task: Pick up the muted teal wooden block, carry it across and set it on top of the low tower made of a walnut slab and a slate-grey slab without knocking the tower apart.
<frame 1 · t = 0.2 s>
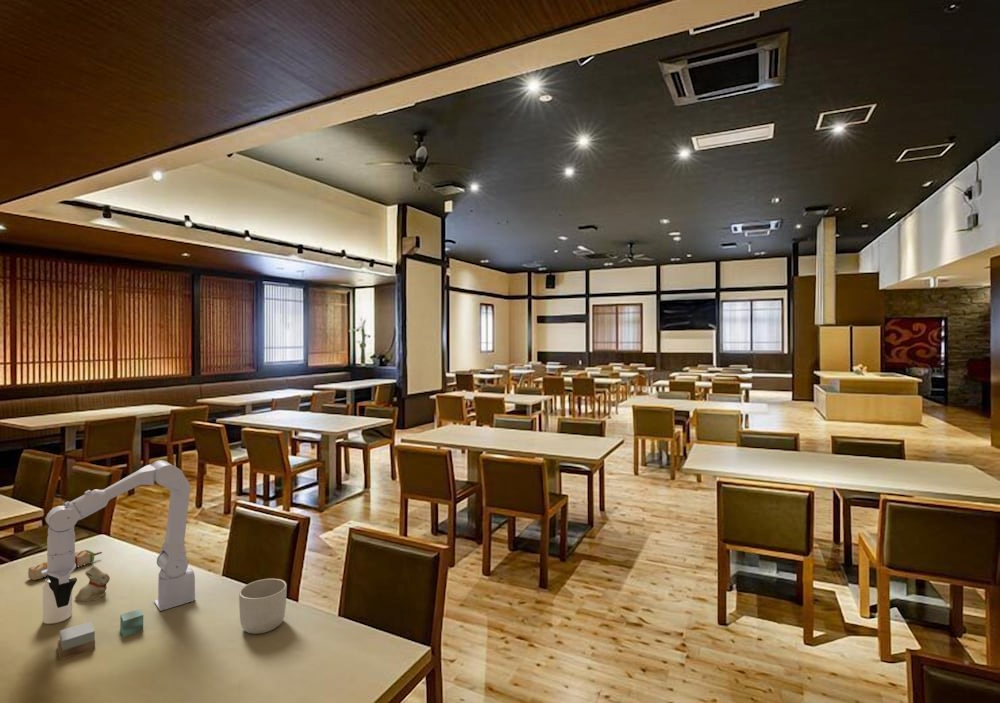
hand: (61, 600, 138), 10 cm above the table, tool pointing down, fingers open, 7 cm apart
can: (57, 619, 147), on the table
tower top: (77, 640, 134), point 2 cm above the table, touching tower base
teal block: (131, 630, 142), on the table
skewer: (68, 570, 180), on the table
planter: (262, 626, 145), on the table
tower base: (76, 649, 134), on the table, touching tower top
chocolate bunny: (92, 597, 160), on the table
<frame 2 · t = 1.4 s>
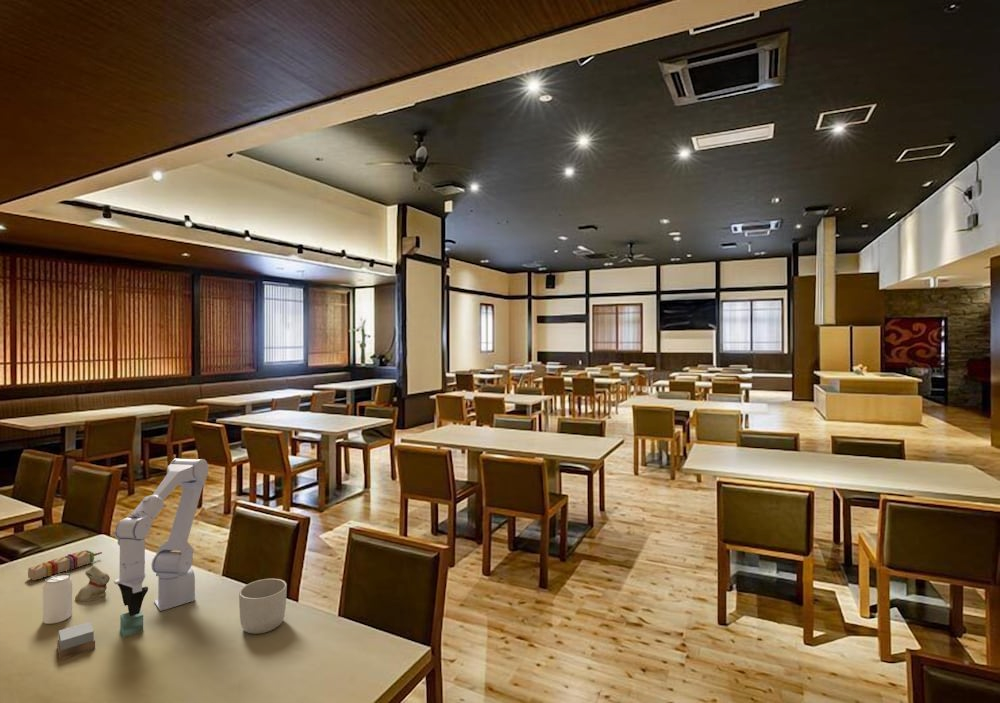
hand: (131, 609, 142), 6 cm above the table, tool pointing down, fingers open, 7 cm apart
nothing on the table moved.
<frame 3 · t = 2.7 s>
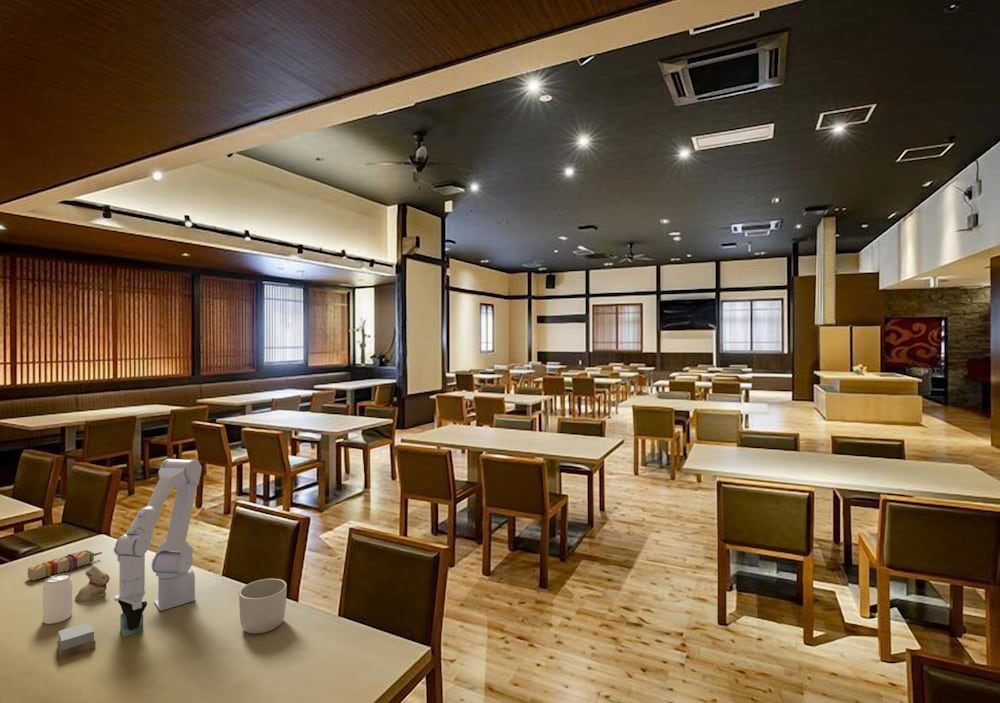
hand: (131, 625, 142), 1 cm above the table, tool pointing down, fingers closed on teal block, 4 cm apart
teal block: (131, 630, 142), on the table, touching gripper
everything else where it was.
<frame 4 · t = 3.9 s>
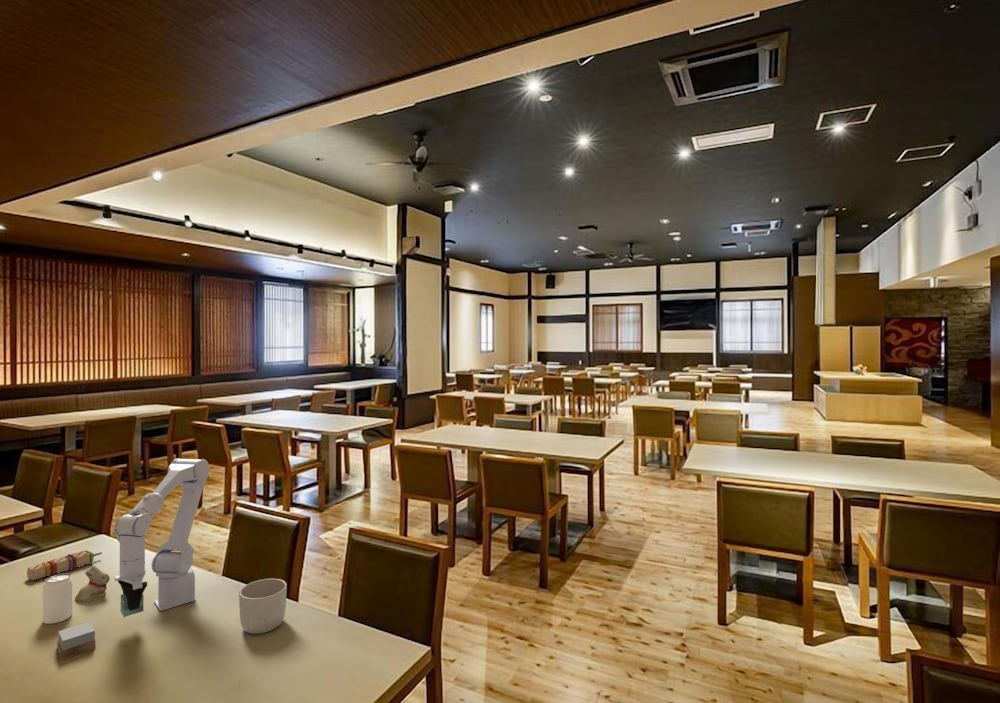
hand: (132, 605, 142), 7 cm above the table, tool pointing down, fingers closed on teal block, 4 cm apart
teal block: (132, 610, 142), point 5 cm above the table, touching gripper
everything else where it was.
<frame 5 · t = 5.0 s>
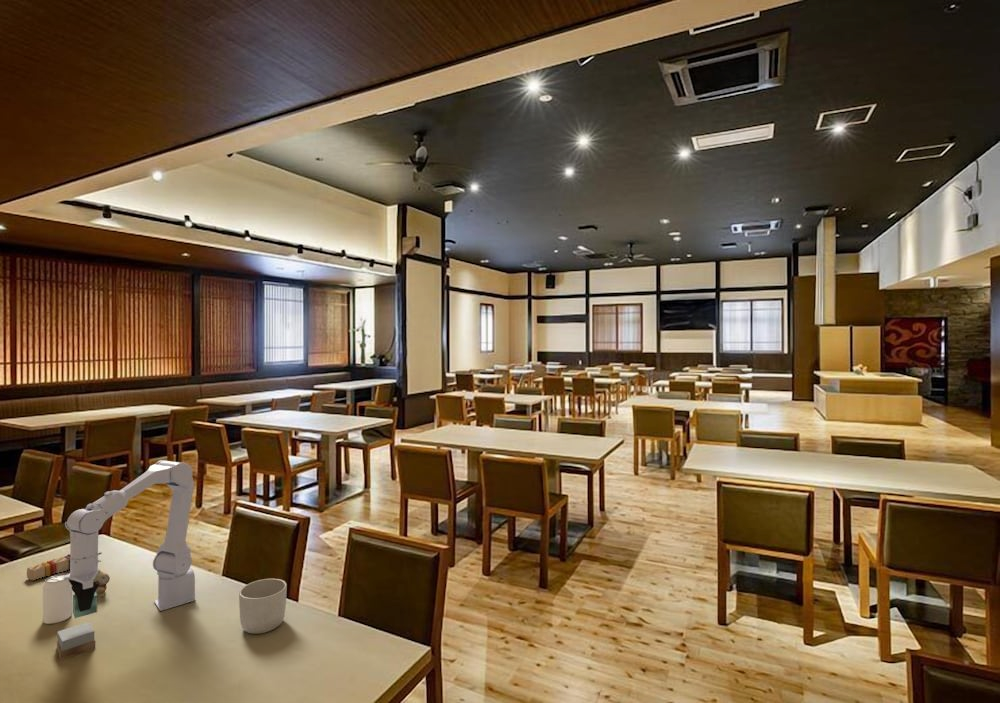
hand: (83, 606, 134), 11 cm above the table, tool pointing down, fingers closed on teal block, 4 cm apart
tower top: (75, 640, 133), point 2 cm above the table
teal block: (84, 612, 135), point 9 cm above the table, touching gripper
tower base: (76, 649, 133), on the table
everything else where it was.
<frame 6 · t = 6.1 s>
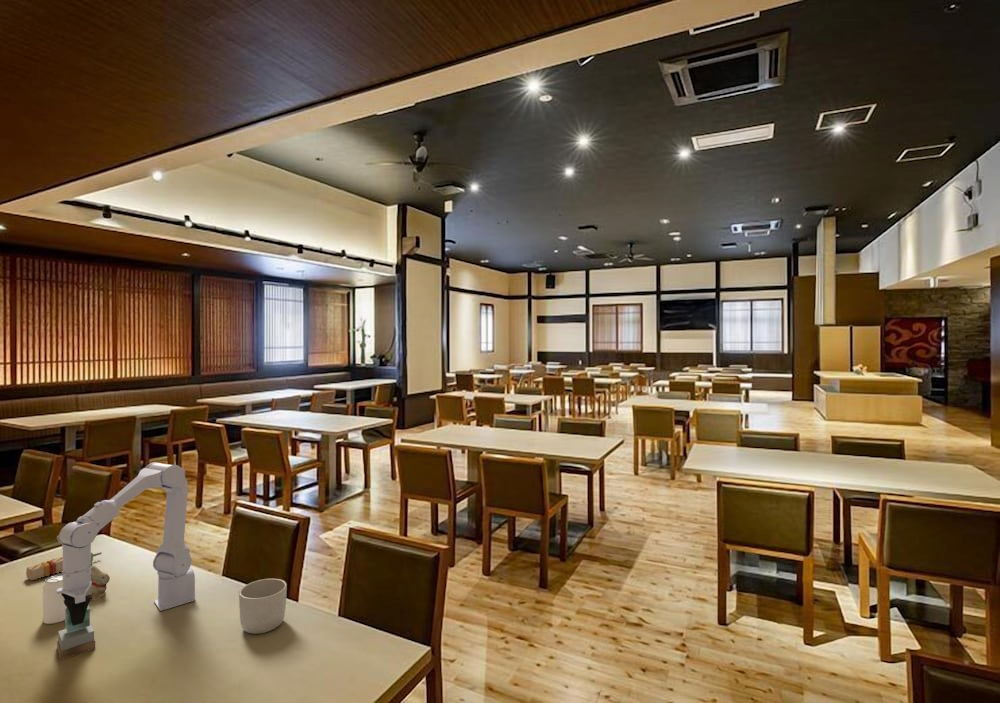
hand: (76, 620, 133), 7 cm above the table, tool pointing down, fingers closed on teal block, 4 cm apart
tower top: (76, 640, 134), point 2 cm above the table, touching tower base
teal block: (77, 625, 134), point 6 cm above the table, touching gripper
tower base: (76, 650, 133), on the table, touching tower top
everything else where it was.
when the fingers open (7 cm above the table, at t = 6.7 s): teal block drops 1 cm, resting on tower top.
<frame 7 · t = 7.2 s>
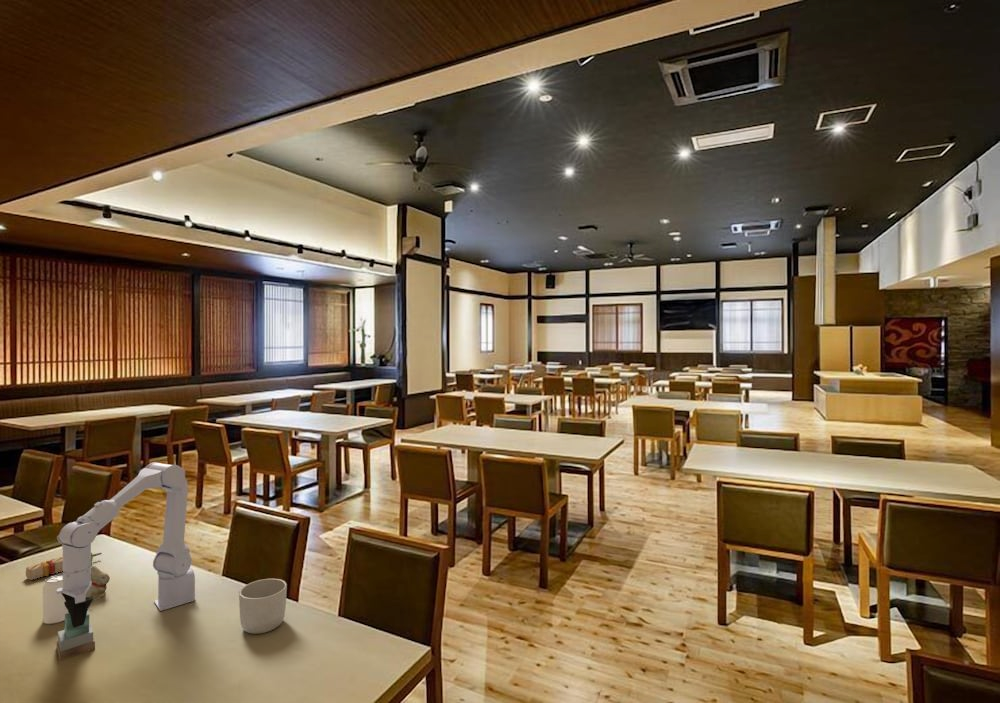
hand: (76, 620, 133), 7 cm above the table, tool pointing down, fingers open, 7 cm apart
tower top: (75, 641, 133), point 2 cm above the table, touching teal block, tower base
teal block: (76, 631, 134), point 4 cm above the table, touching tower top
everything else where it was.
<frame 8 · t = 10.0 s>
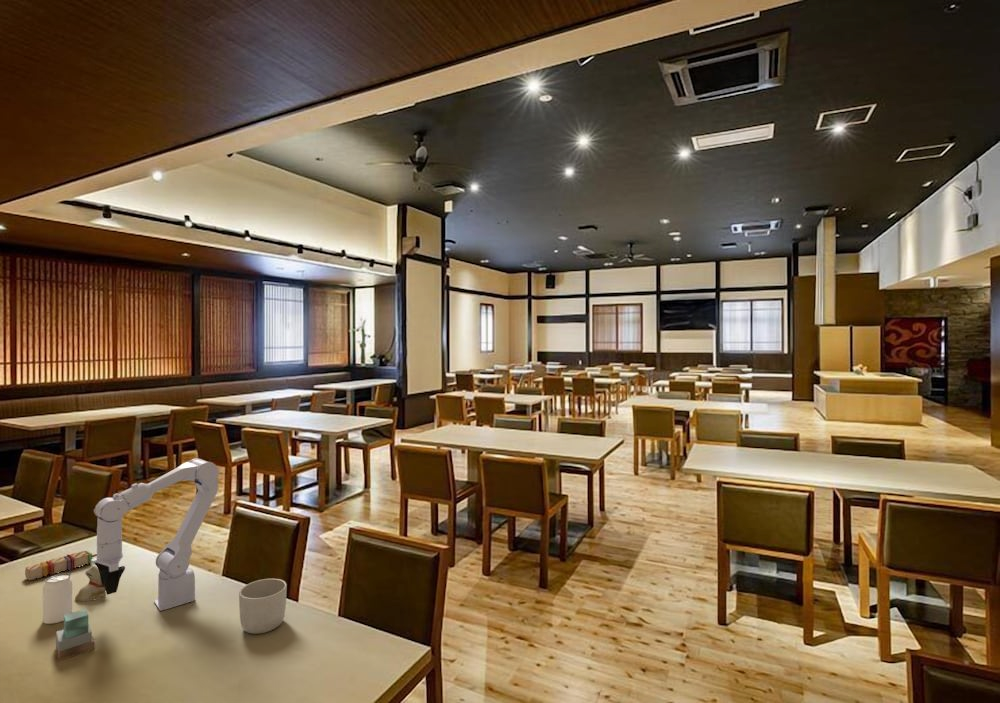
hand: (109, 588, 145), 10 cm above the table, tool pointing down, fingers open, 7 cm apart
nothing on the table moved.
at the end: teal block 0.2 cm off-centre on the tower base, point 5.0 cm above the tower base's base; teal block tilted 0°; tower top 0.3 cm off-centre on the tower base, point 2.5 cm above the tower base's base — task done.
